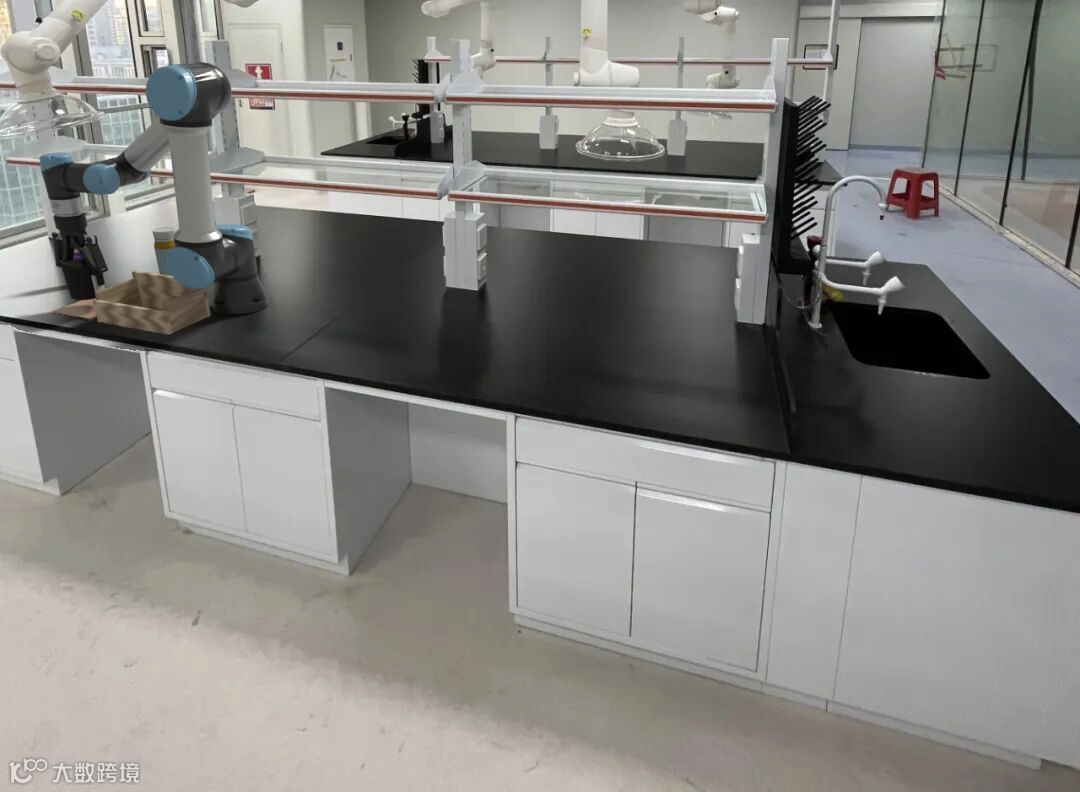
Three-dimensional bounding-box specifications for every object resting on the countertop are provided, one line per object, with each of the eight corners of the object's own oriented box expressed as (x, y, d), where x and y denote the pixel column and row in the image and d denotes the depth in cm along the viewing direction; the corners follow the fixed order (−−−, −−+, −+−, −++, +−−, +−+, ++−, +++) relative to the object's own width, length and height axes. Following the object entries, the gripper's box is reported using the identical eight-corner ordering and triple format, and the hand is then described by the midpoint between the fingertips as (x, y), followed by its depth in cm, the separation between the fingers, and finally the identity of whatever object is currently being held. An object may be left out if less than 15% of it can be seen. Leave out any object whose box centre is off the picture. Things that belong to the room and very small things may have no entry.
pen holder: (92, 302, 219) (84, 266, 215) (61, 299, 221) (52, 264, 216) (114, 291, 228) (106, 257, 223) (84, 289, 229) (76, 255, 225)
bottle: (173, 281, 249) (164, 233, 242) (155, 278, 251) (145, 231, 244) (189, 274, 255) (180, 228, 248) (171, 272, 257) (162, 226, 250)
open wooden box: (210, 315, 222) (204, 280, 217) (168, 334, 209) (161, 297, 204) (142, 304, 230) (134, 270, 225) (97, 322, 217) (89, 286, 212)
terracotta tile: (131, 304, 230) (130, 302, 229) (90, 320, 218) (89, 318, 217) (94, 298, 234) (93, 296, 234) (52, 313, 222) (51, 311, 222)
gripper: (26, 212, 215) (47, 293, 224) (87, 220, 208) (107, 303, 217) (50, 206, 221) (70, 285, 231) (111, 214, 214) (129, 295, 224)
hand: (88, 294), depth 224 cm, fingers closed on pen holder, 9 cm apart
